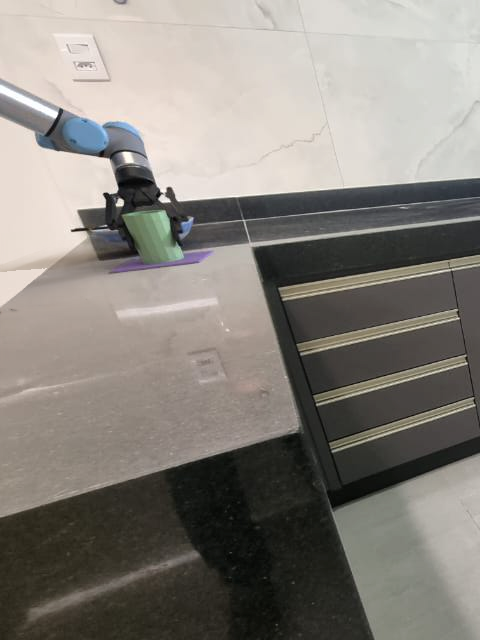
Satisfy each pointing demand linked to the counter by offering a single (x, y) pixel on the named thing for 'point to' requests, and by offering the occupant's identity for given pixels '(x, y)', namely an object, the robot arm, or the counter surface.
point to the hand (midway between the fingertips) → (156, 246)
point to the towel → (139, 265)
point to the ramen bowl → (115, 239)
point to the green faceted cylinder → (153, 236)
